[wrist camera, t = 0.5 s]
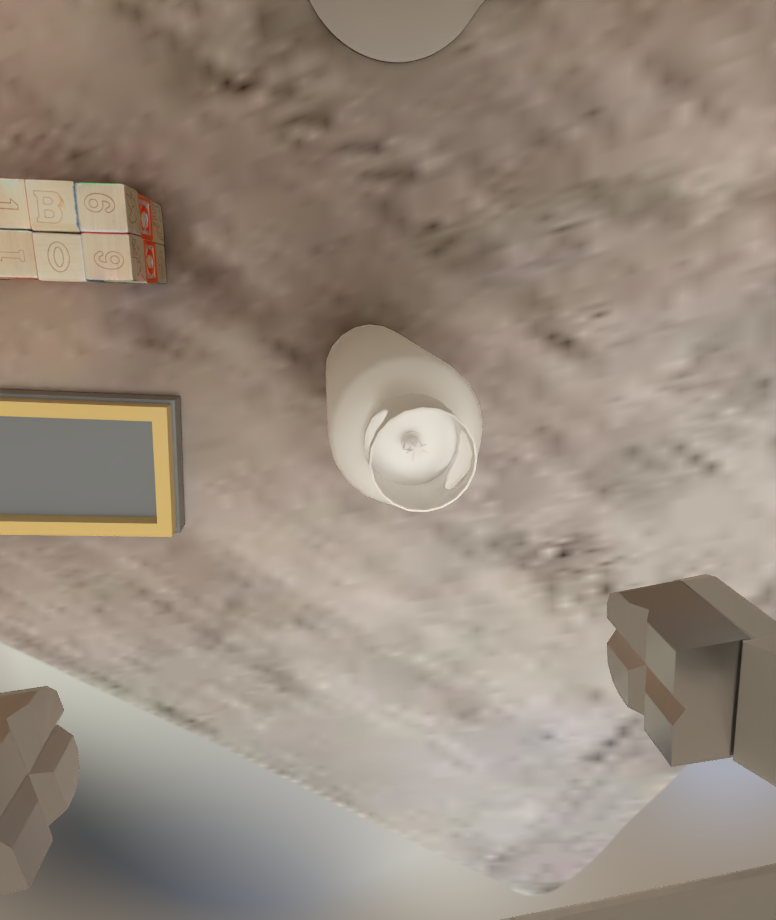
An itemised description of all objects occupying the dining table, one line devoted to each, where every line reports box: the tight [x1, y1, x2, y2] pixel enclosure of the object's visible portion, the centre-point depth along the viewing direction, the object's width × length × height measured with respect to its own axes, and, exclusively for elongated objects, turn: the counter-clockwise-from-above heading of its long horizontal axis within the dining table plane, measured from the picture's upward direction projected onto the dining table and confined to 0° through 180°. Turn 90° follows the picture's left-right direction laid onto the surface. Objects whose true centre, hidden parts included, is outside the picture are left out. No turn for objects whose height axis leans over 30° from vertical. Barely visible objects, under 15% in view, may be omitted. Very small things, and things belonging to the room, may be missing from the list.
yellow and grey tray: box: [0, 389, 185, 537], centre depth 49 cm, size 12×27×4 cm, turn 86°
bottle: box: [325, 324, 483, 512], centre depth 38 cm, size 8×8×28 cm
